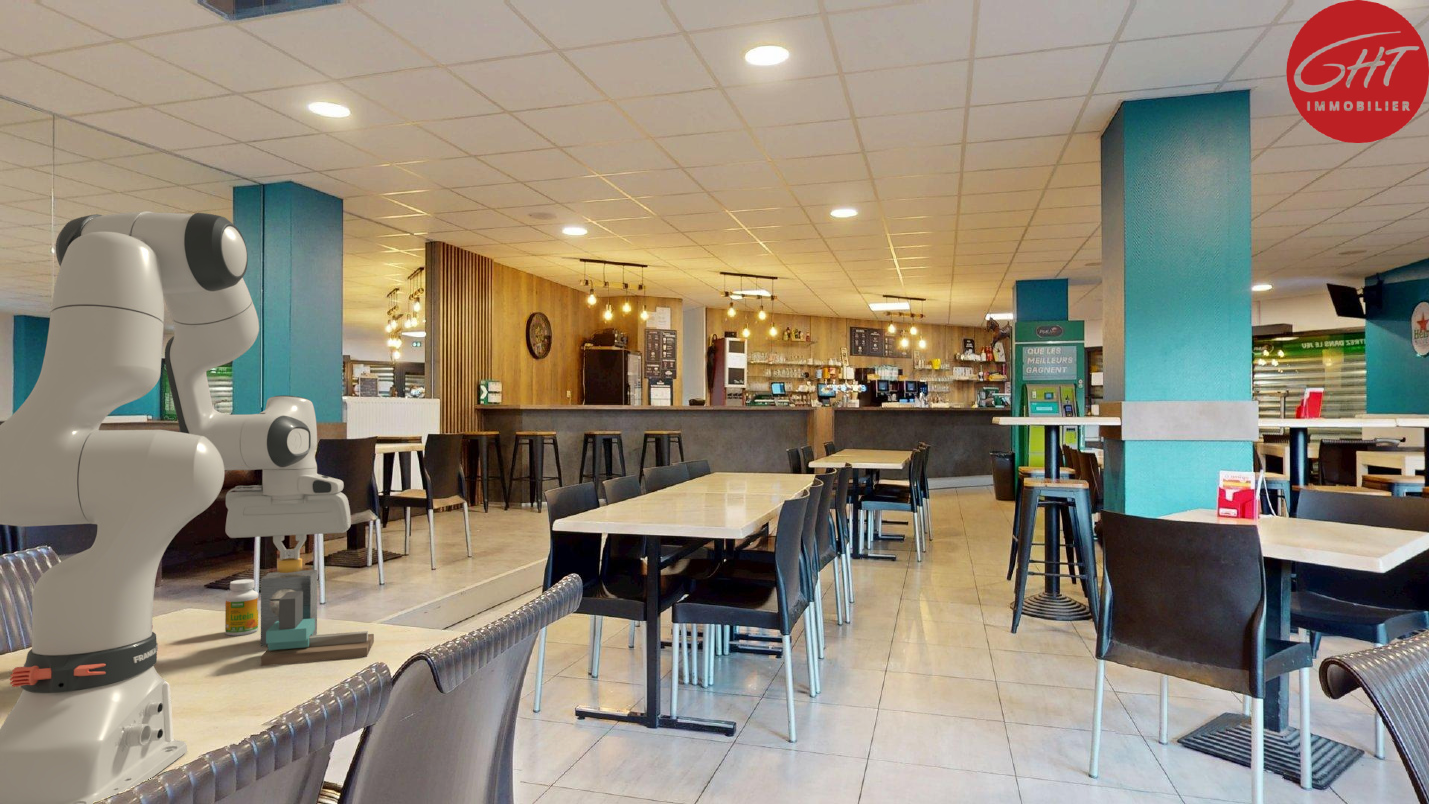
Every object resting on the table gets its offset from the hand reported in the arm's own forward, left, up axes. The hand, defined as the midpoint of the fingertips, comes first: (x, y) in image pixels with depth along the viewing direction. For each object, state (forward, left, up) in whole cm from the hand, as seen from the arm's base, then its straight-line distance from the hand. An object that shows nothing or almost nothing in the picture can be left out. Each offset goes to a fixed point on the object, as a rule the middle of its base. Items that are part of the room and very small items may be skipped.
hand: (289, 559), depth 143 cm
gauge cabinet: (0, 0, -15) cm, 15 cm away
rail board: (-11, -7, -15) cm, 20 cm away
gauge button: (0, 0, -2) cm, 2 cm away
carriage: (-11, -2, -13) cm, 17 cm away
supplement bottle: (+9, +10, -15) cm, 20 cm away
